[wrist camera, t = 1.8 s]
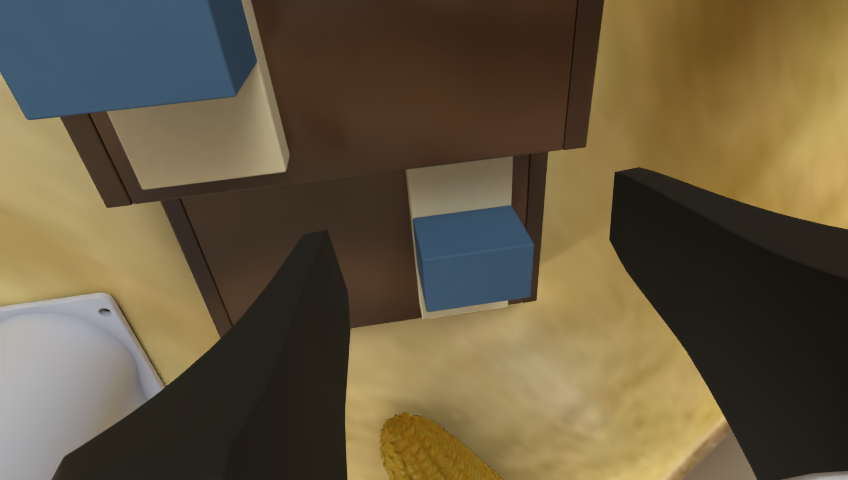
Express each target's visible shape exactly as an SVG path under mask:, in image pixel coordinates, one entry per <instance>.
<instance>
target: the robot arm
mask: <svg viewBox="0 0 848 480" xmlns="http://www.w3.org/2000/svg"><path fill="white" fill-rule="evenodd" d="M609 240H610V242H611V244H612V246H613V248H614V249H615V251H616V253H617V255H618V257H619V259H620V261H621V262H622V264H623V266H624V268H625V269H626V271H627V272H628V274H629V275H630V277H631V278H632V279H633V281H634V282H635V283H636V285H637V286H638V287H639V289H640V290H641V291H642V293H643V294H644V295H645V297H646V298H647V299H648V301H649V302H650V303H651V304H652V306H653V307H654V308H655V310H656V311H657V312H658V314H659V315H660V316H661V317H662V319H663V320H664V321H665V323H666V324H667V325H668V327H669V328H670V329H671V330H672V332H673V333H674V334H675V336H676V337H677V338H678V340H679V341H680V343H681V344H682V346H683V347H684V348H685V350H686V351H687V353H688V354H689V356H690V358H691V359H692V361H693V363H694V364H695V366H696V368H697V369H698V371H699V373H700V374H701V376H702V378H703V379H704V381H705V383H706V384H707V386H708V388H709V390H710V391H711V393H712V395H713V397H714V399H715V400H716V402H717V404H718V406H719V407H720V409H721V411H722V413H723V415H724V416H725V418H726V420H727V422H728V423H729V425H730V427H731V429H732V431H733V433H734V435H735V437H736V439H737V441H738V443H739V445H740V447H741V449H742V450H743V452H744V454H745V456H746V458H747V460H748V462H749V464H750V466H751V468H752V470H753V472H754V474H755V476H756V478H757V480H848V229H843V228H838V227H833V226H828V225H823V224H819V223H815V222H811V221H807V220H802V219H798V218H794V217H790V216H786V215H782V214H779V213H775V212H772V211H768V210H765V209H762V208H758V207H755V206H752V205H749V204H745V203H742V202H739V201H736V200H733V199H730V198H727V197H724V196H721V195H718V194H716V193H713V192H710V191H707V190H704V189H702V188H699V187H696V186H693V185H691V184H688V183H685V182H683V181H680V180H677V179H674V178H672V177H669V176H666V175H663V174H660V173H657V172H654V171H651V170H648V169H644V168H640V167H638V168H633V169H628V170H623V171H618V172H615V176H614V189H613V201H612V213H611V226H610V238H609ZM104 309H108V310H109V311H106V310H104ZM349 343H350V310H349V297H348V290H347V287H346V284H345V281H344V278H343V275H342V272H341V269H340V266H339V263H338V260H337V257H336V254H335V251H334V248H333V245H332V242H331V239H330V236H329V233H328V230H323V231H318V232H313V233H308V234H303V235H302V237H301V238H300V239H299V241H298V242H297V244H296V245H295V247H294V248H293V249H292V251H291V252H290V254H289V255H288V257H287V258H286V260H285V261H284V262H283V264H282V265H281V267H280V268H279V270H278V271H277V272H276V274H275V275H274V277H273V278H272V279H271V281H270V282H269V283H268V285H267V286H266V287H265V289H264V290H263V291H262V292H261V294H260V295H259V296H258V297H257V299H256V300H255V301H254V302H253V303H252V305H251V306H250V307H249V308H248V310H247V311H246V312H245V313H244V314H243V316H242V317H241V318H240V319H239V320H238V321H237V322H236V323H235V324H234V325H233V327H232V328H231V329H230V330H229V331H228V332H227V333H226V334H225V335H224V336H223V337H222V338H221V339H220V340H219V341H218V342H217V343H216V344H215V345H214V346H213V347H212V348H211V349H210V350H208V351H207V352H206V353H205V354H204V355H203V356H202V357H200V358H199V359H198V360H197V361H196V362H195V363H194V364H192V365H191V366H190V367H189V368H188V369H187V370H186V371H185V372H183V373H182V374H181V375H180V376H179V377H178V378H176V379H175V380H174V381H173V382H171V383H170V384H169V385H168V386H166V387H164V385H163V383H162V381H161V380H160V378H159V376H158V374H157V373H156V371H155V369H154V367H153V366H152V364H151V362H150V361H149V359H148V357H147V355H146V354H145V352H144V350H143V348H142V347H141V345H140V343H139V342H138V340H137V338H136V336H135V335H134V333H133V331H132V329H131V328H130V326H129V324H128V323H127V321H126V319H125V317H124V316H123V314H122V312H121V310H120V309H119V307H118V305H117V304H116V302H115V300H114V299H113V297H112V296H110V295H109V294H106V293H92V294H85V295H78V296H71V297H64V298H56V299H49V300H42V301H35V302H28V303H20V304H13V305H6V306H0V480H347V462H346V437H345V402H346V387H347V373H348V359H349Z"/></svg>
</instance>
